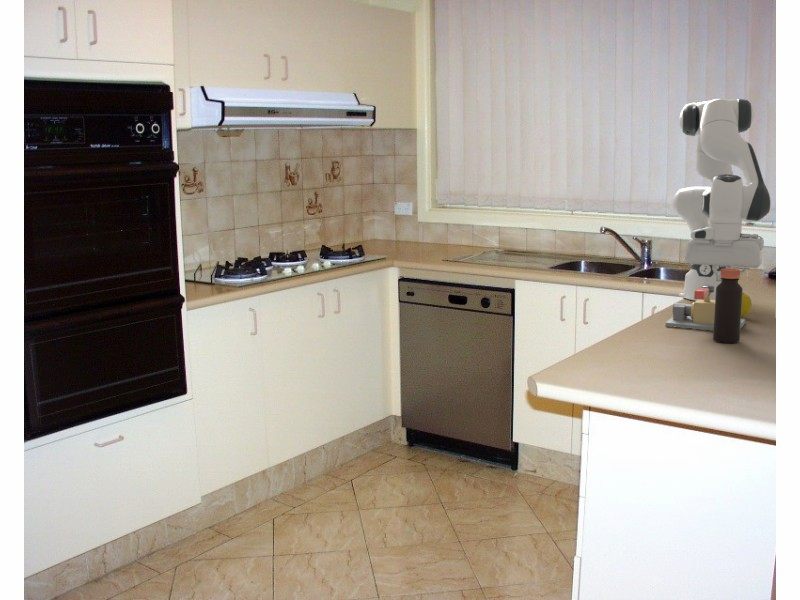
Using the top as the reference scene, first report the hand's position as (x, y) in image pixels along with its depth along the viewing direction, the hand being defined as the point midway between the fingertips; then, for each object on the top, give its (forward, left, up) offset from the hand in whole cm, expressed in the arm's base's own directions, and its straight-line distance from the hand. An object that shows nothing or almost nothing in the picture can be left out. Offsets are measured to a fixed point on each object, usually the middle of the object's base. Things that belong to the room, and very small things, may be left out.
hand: (721, 281), depth 238 cm
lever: (-5, -5, -5) cm, 9 cm away
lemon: (-26, +2, -15) cm, 30 cm away
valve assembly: (-10, -5, -15) cm, 19 cm away
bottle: (+9, +4, -15) cm, 18 cm away
